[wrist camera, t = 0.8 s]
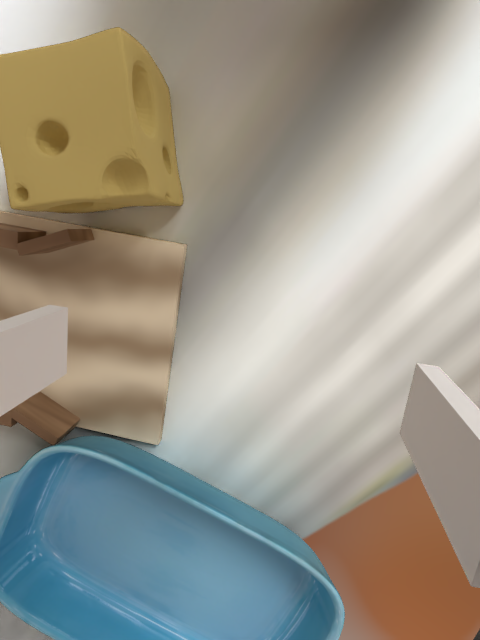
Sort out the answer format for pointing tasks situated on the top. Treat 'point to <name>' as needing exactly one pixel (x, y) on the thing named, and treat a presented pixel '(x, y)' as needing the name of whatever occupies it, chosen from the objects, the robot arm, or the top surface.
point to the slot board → (96, 323)
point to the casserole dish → (151, 554)
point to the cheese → (87, 127)
